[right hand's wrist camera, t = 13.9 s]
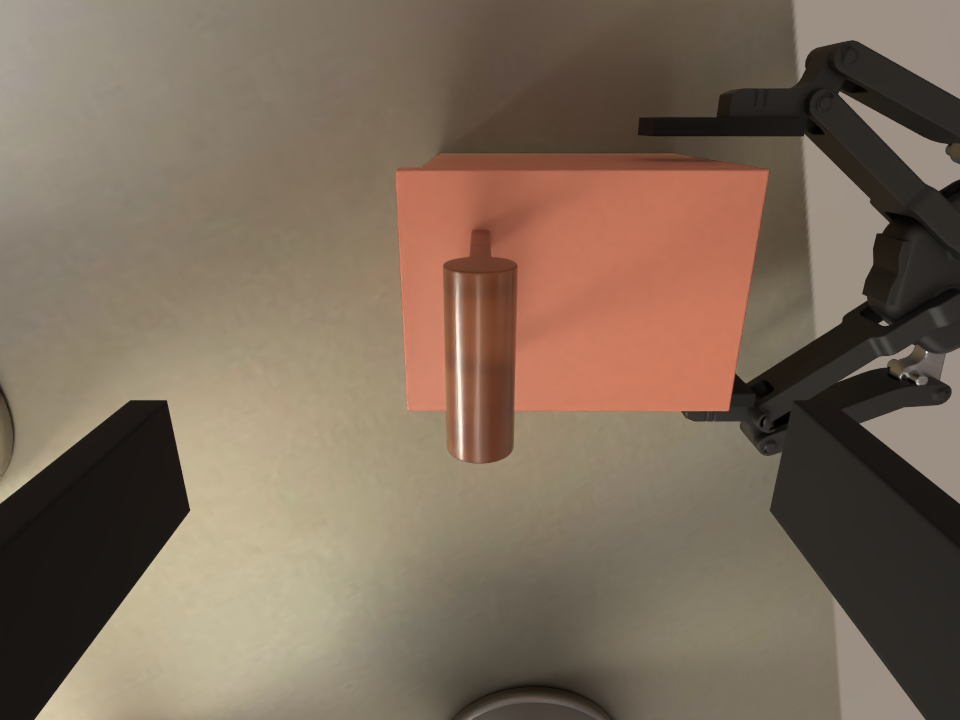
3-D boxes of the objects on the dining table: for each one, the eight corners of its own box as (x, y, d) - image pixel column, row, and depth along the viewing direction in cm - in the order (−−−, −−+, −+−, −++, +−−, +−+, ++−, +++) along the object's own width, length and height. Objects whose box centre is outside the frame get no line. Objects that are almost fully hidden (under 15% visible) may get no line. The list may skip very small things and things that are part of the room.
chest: (442, 325, 37) (428, 401, 27) (438, 153, 34) (420, 167, 23) (655, 325, 37) (720, 401, 27) (674, 153, 34) (758, 167, 23)
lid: (409, 401, 27) (379, 521, 19) (398, 167, 23) (354, 191, 15) (720, 401, 27) (823, 521, 19) (758, 167, 23) (907, 191, 15)
